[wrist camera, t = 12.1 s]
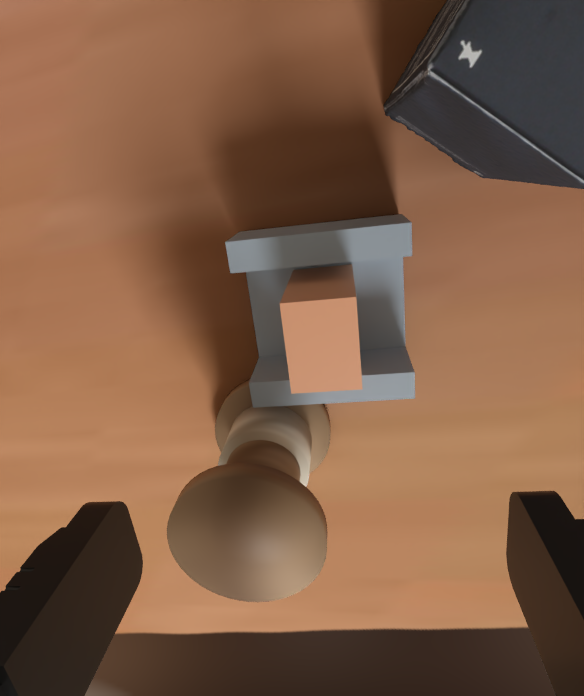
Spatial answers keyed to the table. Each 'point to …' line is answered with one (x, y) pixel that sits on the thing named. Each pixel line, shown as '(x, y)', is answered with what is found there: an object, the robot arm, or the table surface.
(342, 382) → the tan rectangular block
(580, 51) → the small box
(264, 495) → the bobbin
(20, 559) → the table surface
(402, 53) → the table surface
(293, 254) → the grey channel bracket
